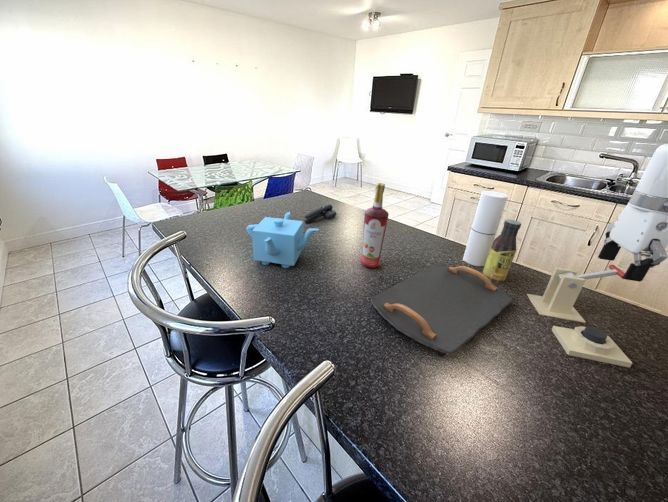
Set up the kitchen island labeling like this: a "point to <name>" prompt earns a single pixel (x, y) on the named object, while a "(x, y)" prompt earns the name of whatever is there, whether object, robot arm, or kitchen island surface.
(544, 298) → the cream upright bracket stand
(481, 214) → the cylindrical container
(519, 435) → the kitchen island surface
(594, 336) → the dark round button
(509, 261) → the sauce bottle
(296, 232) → the teakettle
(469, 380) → the kitchen island surface
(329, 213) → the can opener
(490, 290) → the serving tray
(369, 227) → the liquor
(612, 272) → the red tipped lever
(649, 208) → the robot arm
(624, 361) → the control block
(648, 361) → the kitchen island surface
